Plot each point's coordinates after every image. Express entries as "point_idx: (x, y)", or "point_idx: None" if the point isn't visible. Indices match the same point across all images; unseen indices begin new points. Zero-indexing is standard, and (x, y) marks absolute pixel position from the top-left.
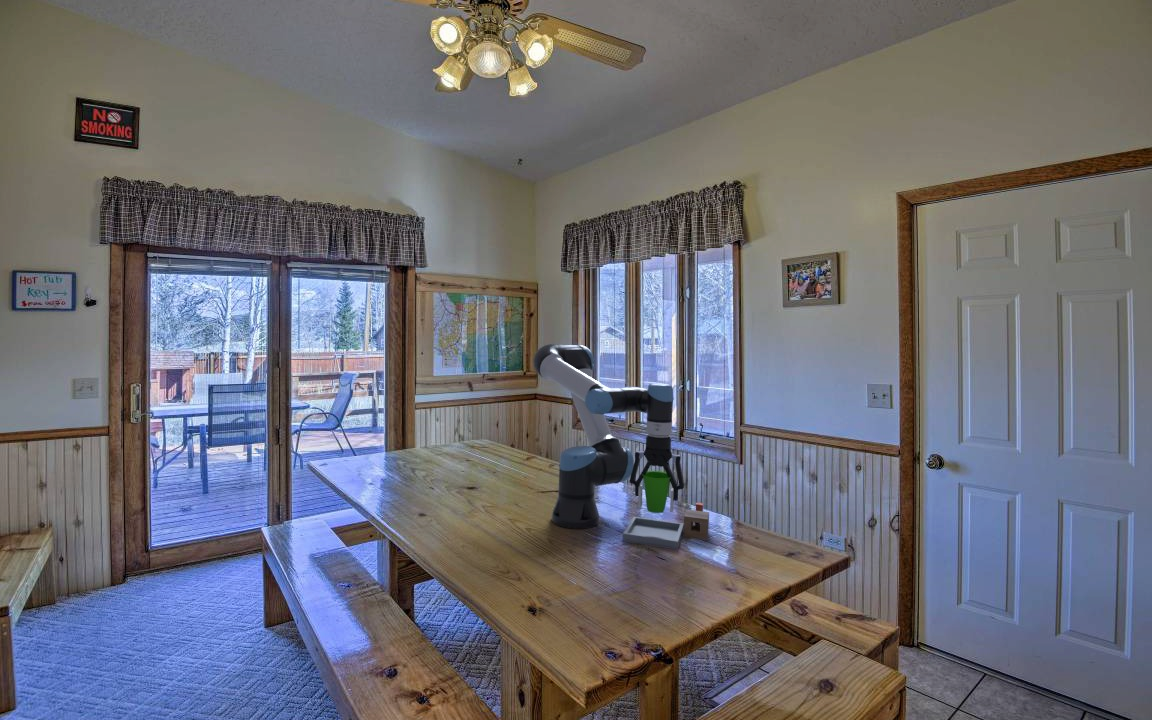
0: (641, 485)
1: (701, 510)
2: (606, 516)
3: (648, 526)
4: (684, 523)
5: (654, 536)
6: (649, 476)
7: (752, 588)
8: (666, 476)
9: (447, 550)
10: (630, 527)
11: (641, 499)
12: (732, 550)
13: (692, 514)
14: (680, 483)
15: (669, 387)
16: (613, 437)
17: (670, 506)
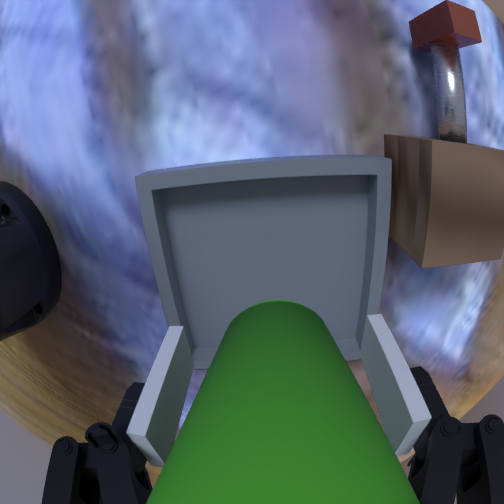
0: (148, 447)
1: (461, 44)
2: (43, 154)
3: (225, 198)
4: (408, 251)
5: (278, 298)
6: (169, 494)
7: (463, 404)
8: (390, 499)
9: (25, 420)
10: (177, 310)
11: (178, 374)
12: (497, 271)
13: (458, 222)
14: (465, 480)
15: None
16: None
17: (369, 377)
